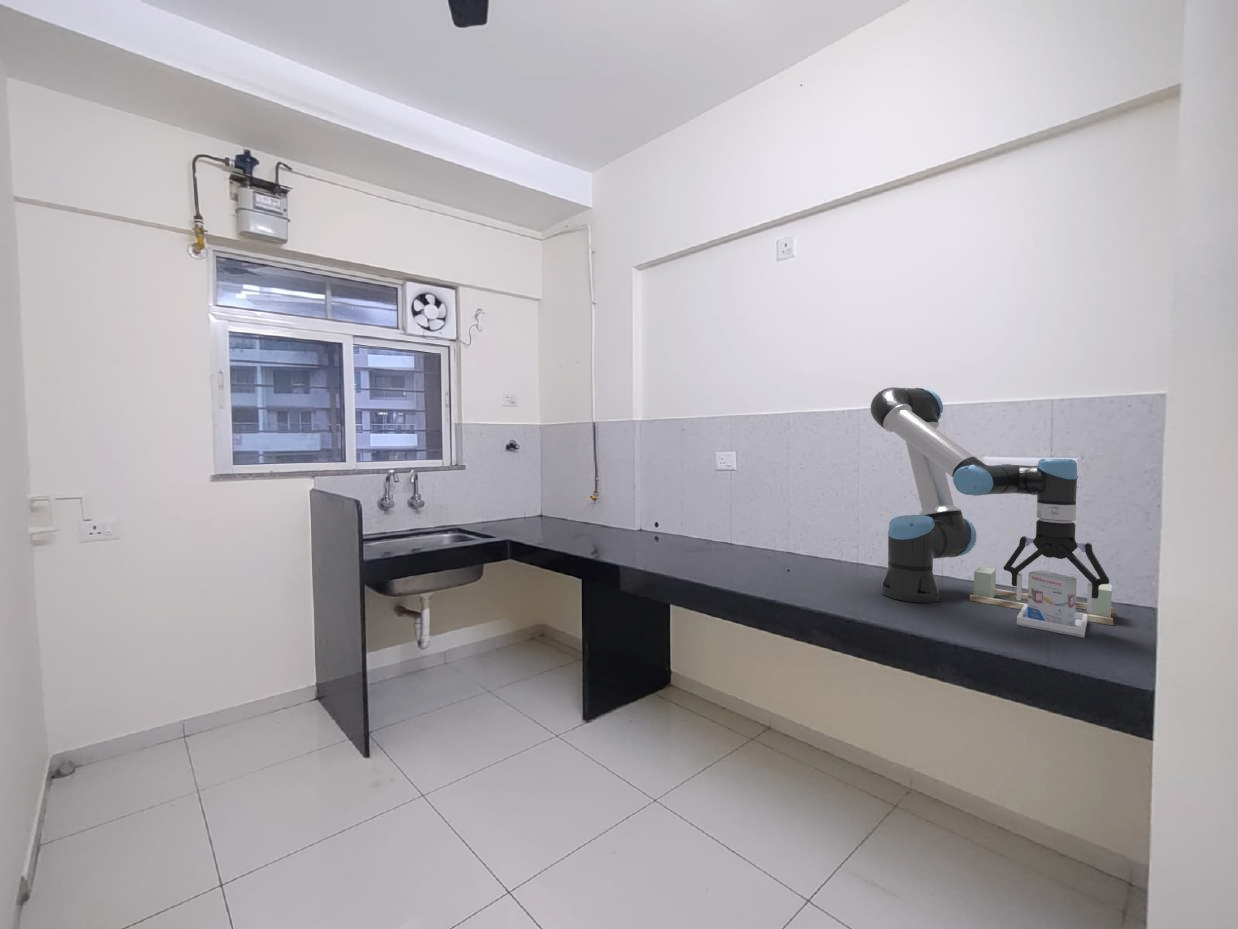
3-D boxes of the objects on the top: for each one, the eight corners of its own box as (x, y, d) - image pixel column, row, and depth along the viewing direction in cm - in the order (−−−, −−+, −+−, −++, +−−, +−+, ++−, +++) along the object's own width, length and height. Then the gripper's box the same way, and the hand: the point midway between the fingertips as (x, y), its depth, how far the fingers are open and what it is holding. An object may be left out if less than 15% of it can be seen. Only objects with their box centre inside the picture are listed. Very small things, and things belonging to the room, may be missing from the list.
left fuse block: (973, 598, 153) (974, 571, 152) (979, 593, 158) (979, 566, 158) (990, 601, 150) (991, 574, 149) (995, 595, 156) (995, 569, 155)
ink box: (1025, 616, 135) (1027, 571, 135) (1038, 614, 137) (1039, 569, 136) (1063, 627, 127) (1065, 579, 127) (1076, 625, 129) (1078, 577, 128)
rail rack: (969, 600, 151) (969, 595, 151) (978, 591, 160) (978, 586, 160) (1112, 625, 130) (1113, 619, 130) (1113, 613, 140) (1113, 607, 140)
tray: (1016, 624, 131) (1016, 617, 131) (1024, 611, 141) (1024, 603, 141) (1084, 637, 122) (1084, 629, 122) (1087, 622, 133) (1087, 614, 133)
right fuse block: (1088, 618, 135) (1090, 588, 135) (1090, 611, 141) (1091, 582, 141) (1110, 622, 132) (1111, 591, 132) (1110, 614, 138) (1111, 584, 138)
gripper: (992, 517, 137) (989, 597, 138) (1125, 528, 119) (1121, 620, 120) (997, 514, 142) (994, 591, 143) (1125, 524, 125) (1121, 612, 126)
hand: (1052, 605), depth 132 cm, fingers open, 13 cm apart
